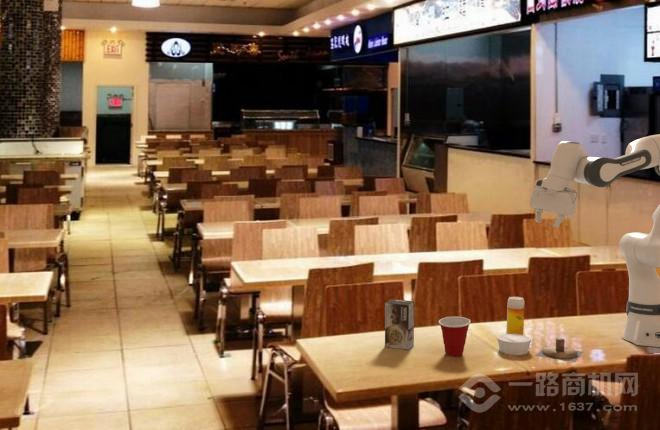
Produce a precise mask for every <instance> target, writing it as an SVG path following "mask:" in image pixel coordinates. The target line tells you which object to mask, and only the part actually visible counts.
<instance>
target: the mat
mask: <svg viewBox="0 0 660 430" xmlns="http://www.w3.org/2000/svg"><path fill="white" fill-rule="evenodd" d="M547 346H548V345H545V346H544V347H547ZM576 351H577V357H575V358H570V359H561V358H553V357H549V356H546V355H544V354H543V353H542V349H541V350H540V351H539V352H537V353H536V355H535V356H536V357H542V358H549V359H555V360H561V361H566V362H573V363H575V362H576V361H577V360H578V358H580V357H581V355H582V354H583V353H584V351H583V350H582V351H581V350H576Z"/></svg>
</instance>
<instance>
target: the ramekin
mask: <svg viewBox="0 0 660 430" xmlns="http://www.w3.org/2000/svg"><path fill="white" fill-rule="evenodd" d="M497 342H498V343H497V344H498V349H499V352H500V353H503V354H506V355H510V356H522V355H527V354H528V353H529V351H530V345H531V343H532V339H531V337H530V336H527V335H524V334H523V335H520V334H506V333H504V334H500V335H498V336H497Z"/></svg>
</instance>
